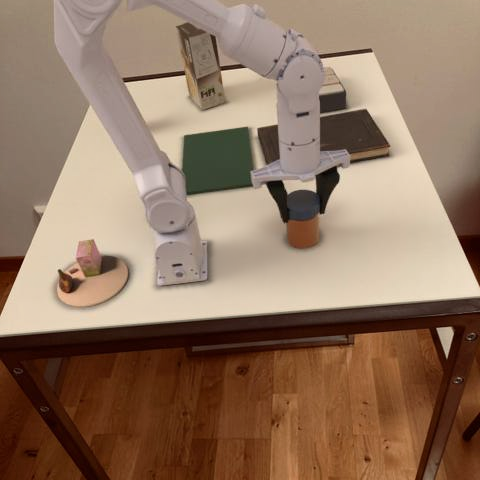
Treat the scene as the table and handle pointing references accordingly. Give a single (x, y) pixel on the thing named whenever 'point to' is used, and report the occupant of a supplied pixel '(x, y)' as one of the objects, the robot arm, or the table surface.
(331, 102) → the grey box
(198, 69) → the coffee box
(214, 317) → the table surface
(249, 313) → the table surface
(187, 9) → the robot arm
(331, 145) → the hardcover book
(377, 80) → the table surface
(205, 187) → the mat
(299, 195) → the lid
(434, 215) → the table surface
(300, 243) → the jar
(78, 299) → the dessert plate
